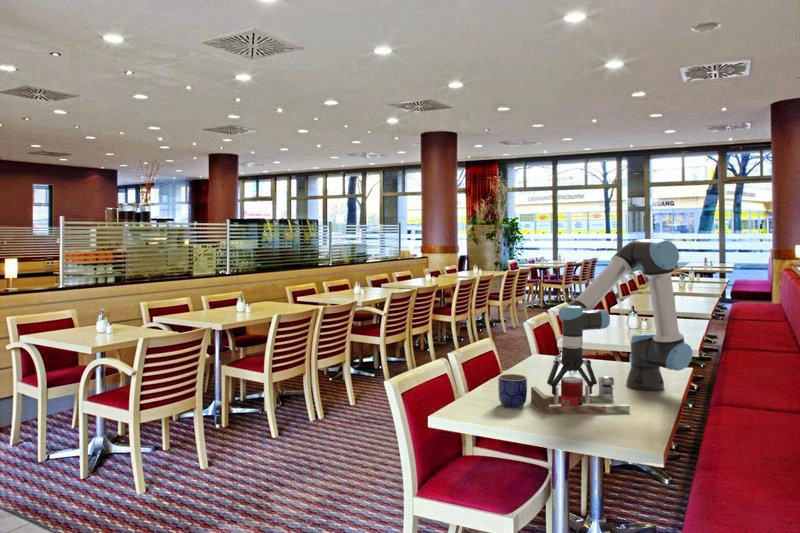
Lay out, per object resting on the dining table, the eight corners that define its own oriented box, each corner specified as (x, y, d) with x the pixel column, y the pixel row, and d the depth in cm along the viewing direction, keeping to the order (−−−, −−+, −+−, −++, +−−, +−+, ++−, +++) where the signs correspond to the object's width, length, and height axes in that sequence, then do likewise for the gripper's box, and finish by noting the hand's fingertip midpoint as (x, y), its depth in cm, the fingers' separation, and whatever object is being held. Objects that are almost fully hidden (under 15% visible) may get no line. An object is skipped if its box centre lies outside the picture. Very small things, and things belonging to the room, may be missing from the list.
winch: (609, 396, 247) (610, 375, 247) (613, 399, 243) (614, 378, 243) (597, 396, 247) (598, 375, 246) (601, 399, 243) (601, 378, 242)
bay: (611, 399, 242) (611, 385, 242) (629, 412, 225) (629, 396, 225) (531, 401, 240) (531, 386, 240) (543, 414, 223) (543, 398, 223)
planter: (528, 403, 239) (528, 375, 238) (524, 410, 228) (525, 381, 228) (500, 400, 242) (500, 373, 242) (496, 408, 232) (496, 379, 231)
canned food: (583, 410, 228) (583, 381, 227) (561, 409, 229) (561, 380, 229) (581, 404, 235) (581, 377, 235) (560, 403, 237) (560, 376, 236)
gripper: (598, 344, 236) (598, 399, 237) (538, 345, 234) (538, 400, 235) (606, 347, 228) (605, 404, 229) (544, 348, 227) (544, 406, 228)
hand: (571, 402), depth 232 cm, fingers open, 11 cm apart
